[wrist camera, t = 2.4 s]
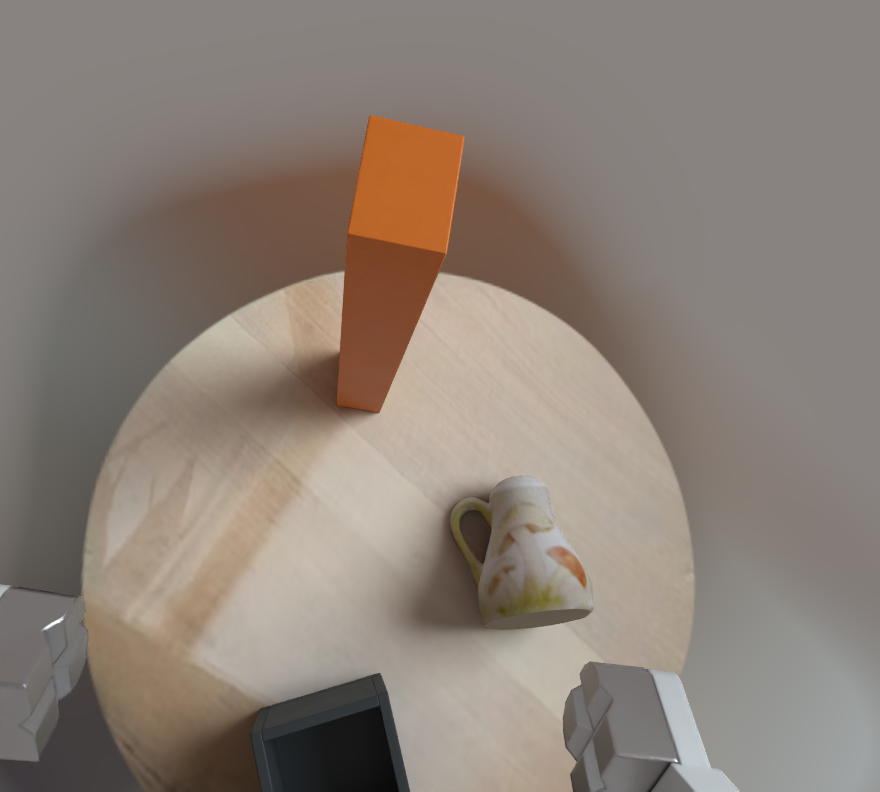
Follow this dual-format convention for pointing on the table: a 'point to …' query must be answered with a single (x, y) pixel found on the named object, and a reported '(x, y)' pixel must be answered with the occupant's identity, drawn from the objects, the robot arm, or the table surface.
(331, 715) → the bin
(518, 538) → the mug
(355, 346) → the block
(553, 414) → the table surface
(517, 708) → the table surface
